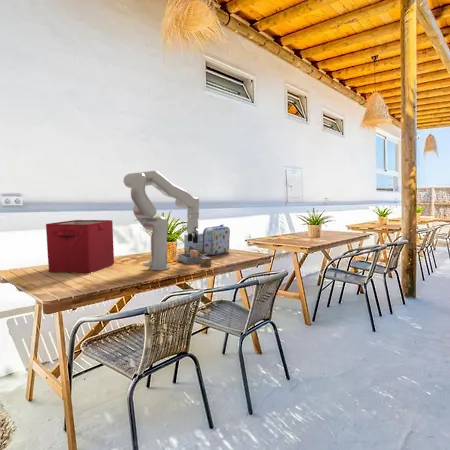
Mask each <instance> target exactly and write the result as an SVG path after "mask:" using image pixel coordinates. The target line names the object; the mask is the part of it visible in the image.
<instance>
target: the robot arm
mask: <svg viewBox="0 0 450 450" xmlns="http://www.w3.org/2000/svg"><path fill="white" fill-rule="evenodd" d="M123 184H124V185H125V186H126V188H129V189H130V198H131V201H132V202H133V204H134V205H133V208H132V212H133V215H134V216H135V218H136V220H137V221H138V222H139V223H140V225H141V226H142V228H144V229H145V230H146V231H148V232H151V235H150V260H149V262H143V263H142V264H143V267H148V270H152V271H164V270H168V269H170V268H171V265H169V264H168V242H167V240H168V238H167V237H168V235H167V234H168V229H169V223H168V220H167V219H166V218H165V217H163V216H161V215H157V208H156V206H155V205H154V204H153V202H152V200H151V199H150V198H149V196H148V195H147V193H146V187H147V186H152V187H154V188H155V189H156V190H157V191H159V192H160V193H161V194H162V195H164V196H166V197H169V198H172V199H175V201H174V203H175V204H174V205H175V206H176V207H177V208H179V209H187V211H186V212H187V213H186V214H187V216H186V217H187V218H186V219H187V220H186V233H187V235H188V241H192V240H193V243H198V233H199V218H200V214H199V213H200V199H199V197H195V196H192V194H190V193H189V192H188V191H186V190H185V189H183V188H181V187H179V186H177V185H175V184H174V183H172V181H170V180H168V178H167V177H166V176H164V175H162V174H161V173H160V172H159V171H157V170H149V171H142V172H132V173H127V174H126V175H124V177H123ZM192 234H193V235H192ZM193 236H194V237H193Z"/></svg>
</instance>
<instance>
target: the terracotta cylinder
mask: <svg viewBox="0 0 450 450" xmlns="http://www.w3.org/2000/svg"><path fill="white" fill-rule="evenodd" d="M191 257H198V251H197V250H190V258H191Z"/></svg>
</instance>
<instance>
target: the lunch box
mask: <svg viewBox="0 0 450 450" xmlns="http://www.w3.org/2000/svg"><path fill="white" fill-rule="evenodd" d="M230 232H231V230H230V227H228V226H224V224H219V225H217V226H210V227H209V226H208V227H205V228H203V232H202V233H203V255H209V256H215V255H216V256H217V255H220V254H224V253H228V252H229V250H230V238H231V237H230V236H231V234H230Z"/></svg>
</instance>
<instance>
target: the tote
mask: <svg viewBox="0 0 450 450" xmlns="http://www.w3.org/2000/svg"><path fill="white" fill-rule="evenodd" d="M177 254H178V256H177V257H178V261H179V262H181V263H184V264H185V265H195V264H201V258H203V257H207V256H206V255H205V254H202V253H198V257H191V258H190V253H185V254H184V253H177Z"/></svg>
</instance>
